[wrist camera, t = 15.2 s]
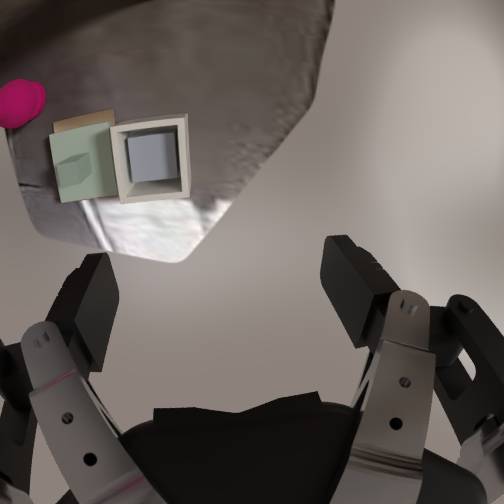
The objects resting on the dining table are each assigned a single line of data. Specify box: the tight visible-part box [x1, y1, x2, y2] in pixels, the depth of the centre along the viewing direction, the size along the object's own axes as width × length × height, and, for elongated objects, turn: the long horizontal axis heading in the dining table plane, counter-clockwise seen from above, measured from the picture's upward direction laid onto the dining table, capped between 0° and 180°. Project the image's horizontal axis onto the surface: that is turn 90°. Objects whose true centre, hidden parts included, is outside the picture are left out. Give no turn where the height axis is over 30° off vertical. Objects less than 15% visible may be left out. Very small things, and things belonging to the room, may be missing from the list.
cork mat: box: [53, 109, 119, 203], centre depth 37 cm, size 13×10×1 cm
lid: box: [49, 121, 119, 203], centre depth 34 cm, size 11×10×7 cm
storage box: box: [110, 113, 191, 204], centre depth 36 cm, size 10×9×7 cm
